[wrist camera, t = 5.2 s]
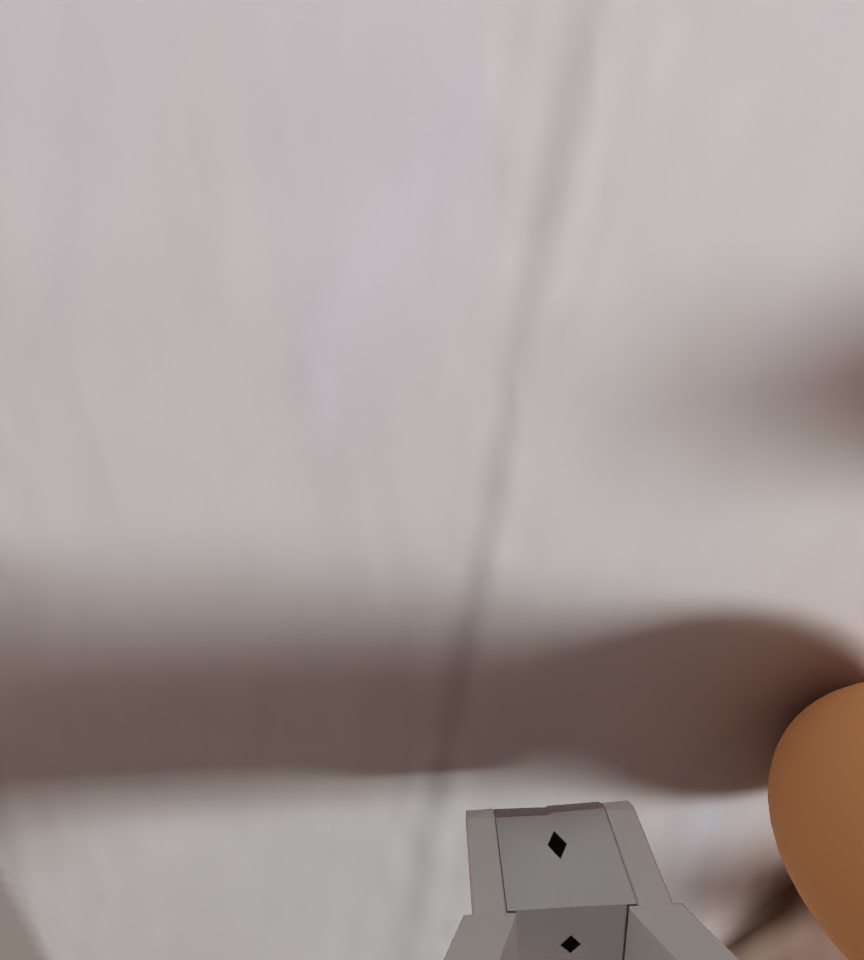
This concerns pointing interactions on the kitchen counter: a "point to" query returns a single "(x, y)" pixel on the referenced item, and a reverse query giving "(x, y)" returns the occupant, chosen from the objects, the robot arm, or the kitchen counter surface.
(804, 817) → the ball
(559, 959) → the robot arm
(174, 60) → the kitchen counter surface
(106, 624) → the kitchen counter surface
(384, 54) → the kitchen counter surface
